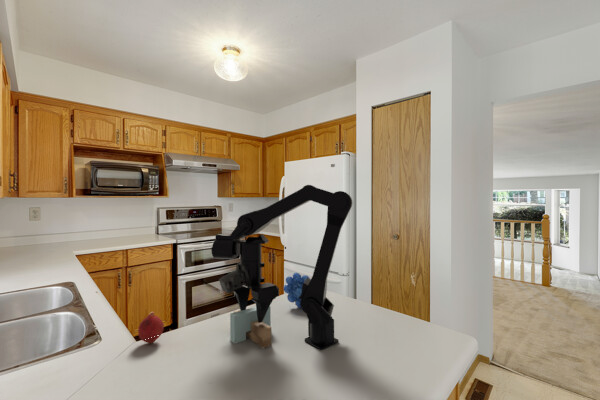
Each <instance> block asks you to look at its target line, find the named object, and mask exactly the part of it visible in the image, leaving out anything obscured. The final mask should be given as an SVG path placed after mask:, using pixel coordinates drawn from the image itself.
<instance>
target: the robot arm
mask: <svg viewBox="0 0 600 400" xmlns="http://www.w3.org/2000/svg"><path fill="white" fill-rule="evenodd" d="M309 202H314V203H318V204H320V205H323V206H326V207H327V213H326V216H327V217H326V228H325V231H324V235H323V237H322V242H321V245H320V248H319V251H318V256H317V259H316V263H315V266H314V270H313V272H312V273H313V274H312V276H311V278H310V277H309V278H310V279H309V278H307V279H306V280H305V281H304V283H303V286H302V293H301V295H300V297H299V299H301V301H300V306H301V308H300V309H301V310H302V311H303V312H304V313H305V314H306V317H307V319H308V321H307V325H308V327H307V328H308V330H307V331H308V337H305V338H304V341H305V342H306V343H308V344H310V345H311V346H313V347H315V348H316V349H318V350H325V349H326V348H328V347H331V346H332V345H333V346H334V345H335V344H338V343H339V339H337V338H336V337H335V319H334V318H333V316H332V315H333V311H334V308H335V307H334V306H335V305H334V304H333V303H332V302H331V300H330V299H329V298H327V290H328V288H327V287H328V276H329V272H330V269H331V266H332V262H333V259H334V256H335V255H334V254H335V252H336V248H337V244H338V240H339V237H340V233H341V230H342V228H343V225H344V223H345V221H346V219H347V217H348V216H349V213H350V211H351V210H352V207H353V199H352V197H351V196H350V194H349V193H347V192H345V191H341V190H340V191H339V190H338V191H334V192H331V191H329V190H324V189H323V188H318V187H316V186H314V185H311V184H307V185H304V186H303V187H302V188H300V189H298V190H297V191H294V192H293V193H291V194H288V195H287V196H285V197H284V198H281V199H279V200H278V201H276V202H274V203H272V204H270V205H268V206H266V207H264V208H262V209H258V210H254V211H249V212H247V213H245V214H242V215H240V216H239V217H238V219H237V222H236V226H235V227H234V229H233V231H232V232H231V234H223V233H218V234H215V238H214V240H213V243H212V246H211V255H212V257H213V259H216V260H217V259H219V260H220V259H221V260H236V259H237V257H239V262H238V263H237V264H236V269H235V270H233V271H231V272H228V273H227V274H225V275H223V276H222V277H219V279H218V282H219V284H220V287H221V290H222V291H223V292H226V293H227V294H232V293H234V295H235V298H236V300H237V303H238V307H239V310H241V311H242V310H246V309H247V307H248V302H249V298H250V293H251V298H250V299H251V301H253V302H254V303H255V307H256V310H257V319H258V322H259V323H261V322H262V321H263V319H264V317H265V315H266V313H267V310H268V308H269V306H270V307H271V304H272V302H273V301H274V300H275V299H276V298H277V297H279V296H280V288H279V287H278V285H276V284H274V283H271V282H265V281H266V280H265V279H266V278H265V277H263V276H262V268H265V262H262V245H264V244H267V243H269V242H270V240H269V239H268V237H266V236H265V235H264V234H263V233H261V234H259V233H260V232H262V230H264V229H266V227H267V228H268V226H269V225H270V224H271V223H272V222H274V221H275V220H276V219H279V218H280V217H282V216H284V215H286V214H288V213H289V212H291V211H293V210H296V209H297V208H299V207H301V206H302V205H305V204H306V203H309ZM257 234H259V235H258V236H252V235H257ZM245 237H246V239H243V238H245Z"/></svg>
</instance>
